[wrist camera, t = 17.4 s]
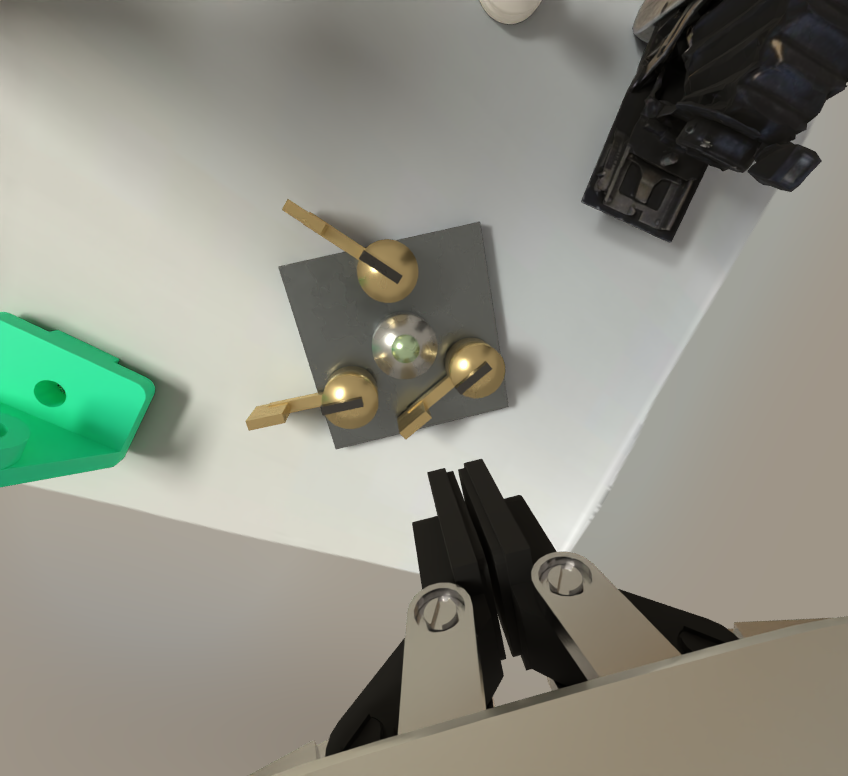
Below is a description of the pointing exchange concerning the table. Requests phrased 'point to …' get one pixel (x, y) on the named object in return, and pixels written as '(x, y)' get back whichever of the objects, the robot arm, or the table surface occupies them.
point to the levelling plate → (358, 314)
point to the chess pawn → (510, 9)
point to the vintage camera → (718, 102)
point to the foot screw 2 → (328, 402)
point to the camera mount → (63, 404)
